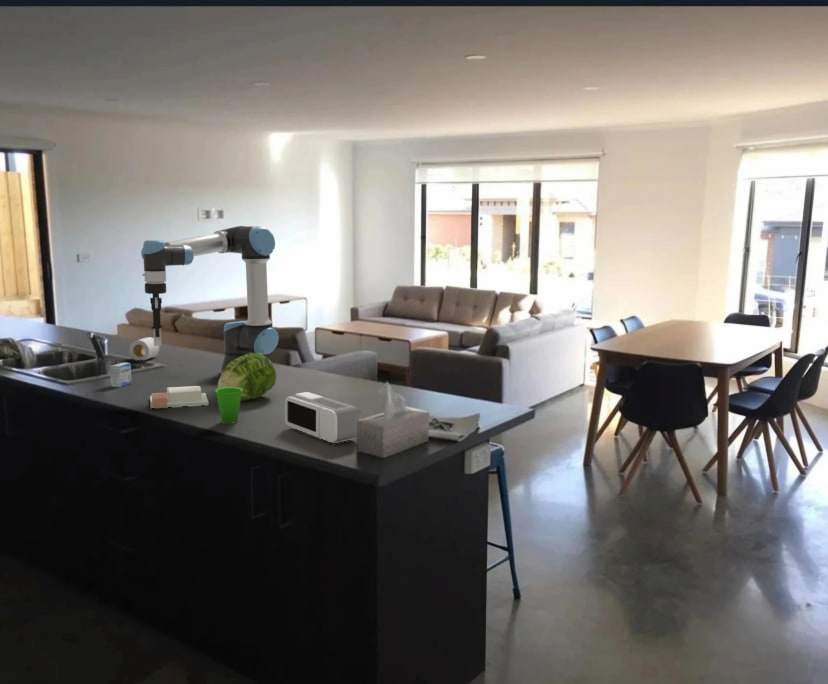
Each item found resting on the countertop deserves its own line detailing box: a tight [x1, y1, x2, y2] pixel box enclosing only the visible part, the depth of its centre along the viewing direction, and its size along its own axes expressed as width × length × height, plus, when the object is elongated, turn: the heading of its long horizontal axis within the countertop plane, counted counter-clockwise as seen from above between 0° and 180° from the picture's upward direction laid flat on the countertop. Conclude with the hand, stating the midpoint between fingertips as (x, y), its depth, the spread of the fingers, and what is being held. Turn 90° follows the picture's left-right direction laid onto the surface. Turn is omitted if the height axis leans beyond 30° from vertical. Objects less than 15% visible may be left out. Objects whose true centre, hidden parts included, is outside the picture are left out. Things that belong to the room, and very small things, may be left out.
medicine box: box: [109, 362, 132, 388], centre depth 297 cm, size 8×4×9 cm, turn 169°
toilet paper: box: [128, 336, 160, 362], centre depth 352 cm, size 10×10×10 cm
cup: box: [214, 387, 243, 424], centre depth 247 cm, size 9×9×11 cm
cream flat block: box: [166, 385, 203, 401], centre depth 275 cm, size 12×9×3 cm
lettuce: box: [217, 352, 277, 402], centre depth 277 cm, size 17×23×17 cm
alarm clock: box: [284, 391, 360, 443], centre depth 234 cm, size 27×9×12 cm, turn 43°
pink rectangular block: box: [151, 392, 167, 407], centre depth 264 cm, size 5×9×3 cm, turn 20°
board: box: [149, 392, 209, 409], centre depth 272 cm, size 20×15×1 cm
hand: (157, 345), depth 274 cm, fingers closed
